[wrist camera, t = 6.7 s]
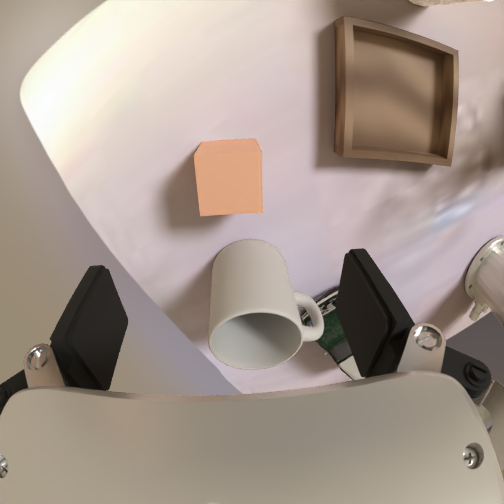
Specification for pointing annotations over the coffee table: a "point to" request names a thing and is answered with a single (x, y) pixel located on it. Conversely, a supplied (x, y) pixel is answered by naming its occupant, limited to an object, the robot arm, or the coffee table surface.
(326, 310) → the miniature car
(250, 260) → the mug
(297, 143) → the coffee table surface
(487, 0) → the white cup
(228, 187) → the terracotta block
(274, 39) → the coffee table surface
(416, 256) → the coffee table surface
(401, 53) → the walnut tray
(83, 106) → the coffee table surface
